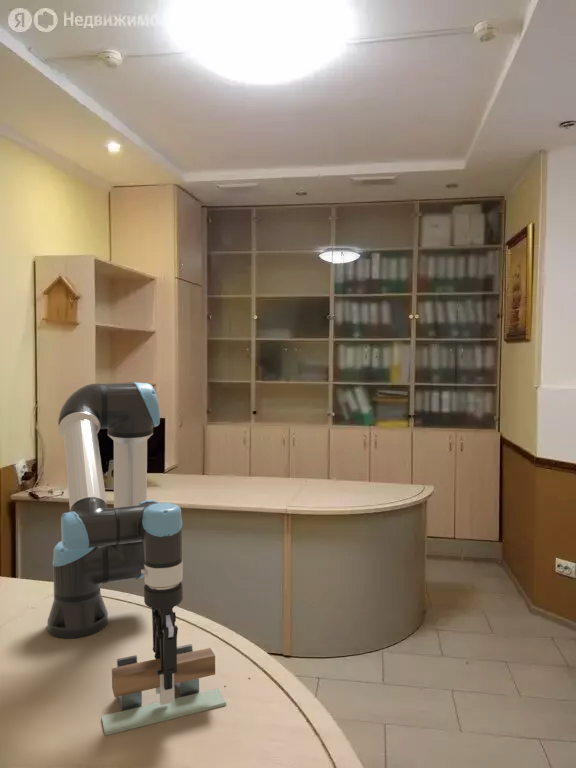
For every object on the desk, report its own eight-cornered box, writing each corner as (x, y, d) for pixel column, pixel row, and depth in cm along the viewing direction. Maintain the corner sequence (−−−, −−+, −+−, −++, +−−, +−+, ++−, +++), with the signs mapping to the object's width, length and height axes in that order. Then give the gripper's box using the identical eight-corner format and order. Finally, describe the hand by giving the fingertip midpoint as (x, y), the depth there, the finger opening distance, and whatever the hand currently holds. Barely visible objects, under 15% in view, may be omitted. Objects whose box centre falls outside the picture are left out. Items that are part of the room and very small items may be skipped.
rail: (112, 688, 118) (111, 668, 117) (210, 666, 126) (210, 647, 125) (114, 697, 114) (114, 677, 114) (215, 674, 122) (215, 655, 122)
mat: (101, 719, 118) (101, 716, 118) (218, 691, 128) (218, 688, 128) (104, 735, 113) (104, 732, 113) (226, 705, 123) (226, 702, 123)
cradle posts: (117, 695, 126) (116, 659, 126) (191, 678, 132) (191, 643, 132) (121, 712, 120) (121, 673, 120) (199, 693, 127) (198, 657, 126)
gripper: (137, 571, 125) (138, 680, 126) (152, 602, 110) (154, 725, 111) (172, 566, 128) (174, 672, 129) (192, 595, 113) (193, 715, 114)
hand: (165, 696), depth 120 cm, fingers closed on rail, 3 cm apart
